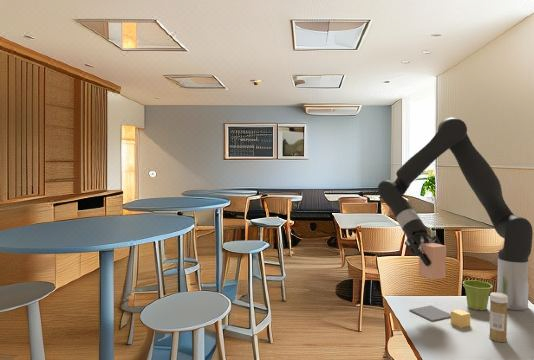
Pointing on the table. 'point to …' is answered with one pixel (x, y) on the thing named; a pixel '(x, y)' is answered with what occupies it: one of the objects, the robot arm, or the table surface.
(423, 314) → the gray mat
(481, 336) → the table surface
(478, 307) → the plant pot
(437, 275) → the tall peach pillar
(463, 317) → the ochre block
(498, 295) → the spice jar
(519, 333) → the table surface
